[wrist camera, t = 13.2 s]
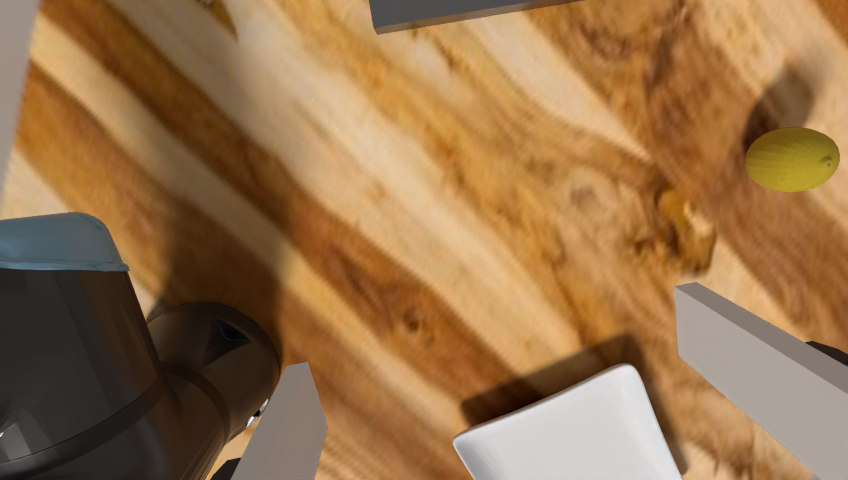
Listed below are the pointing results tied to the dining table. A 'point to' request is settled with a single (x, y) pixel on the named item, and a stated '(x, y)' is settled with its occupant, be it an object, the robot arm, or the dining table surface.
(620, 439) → the salad plate
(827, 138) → the lemon
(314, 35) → the dining table surface
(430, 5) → the rack
